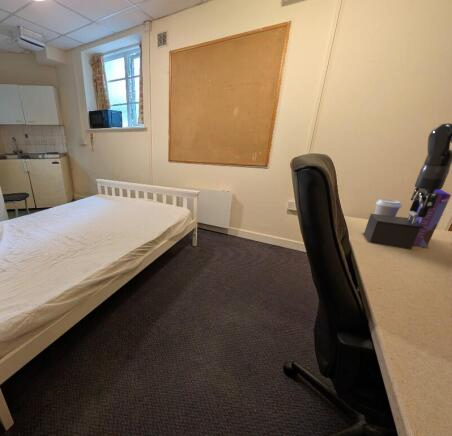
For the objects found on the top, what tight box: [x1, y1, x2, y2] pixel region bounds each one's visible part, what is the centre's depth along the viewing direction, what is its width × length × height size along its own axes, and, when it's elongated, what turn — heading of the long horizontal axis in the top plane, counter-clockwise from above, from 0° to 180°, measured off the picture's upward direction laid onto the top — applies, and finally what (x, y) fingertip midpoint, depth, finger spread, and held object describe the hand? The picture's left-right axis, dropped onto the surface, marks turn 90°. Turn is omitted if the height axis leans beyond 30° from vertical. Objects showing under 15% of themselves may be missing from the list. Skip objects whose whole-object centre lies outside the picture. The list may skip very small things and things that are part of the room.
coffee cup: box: [374, 198, 403, 217], centre depth 114 cm, size 10×10×15 cm
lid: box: [370, 210, 424, 228], centre depth 98 cm, size 14×12×5 cm
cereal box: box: [408, 189, 452, 249], centre depth 100 cm, size 17×5×24 cm, turn 143°
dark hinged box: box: [363, 214, 420, 250], centre depth 101 cm, size 14×12×10 cm
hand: (416, 214), depth 95 cm, fingers open, 8 cm apart
